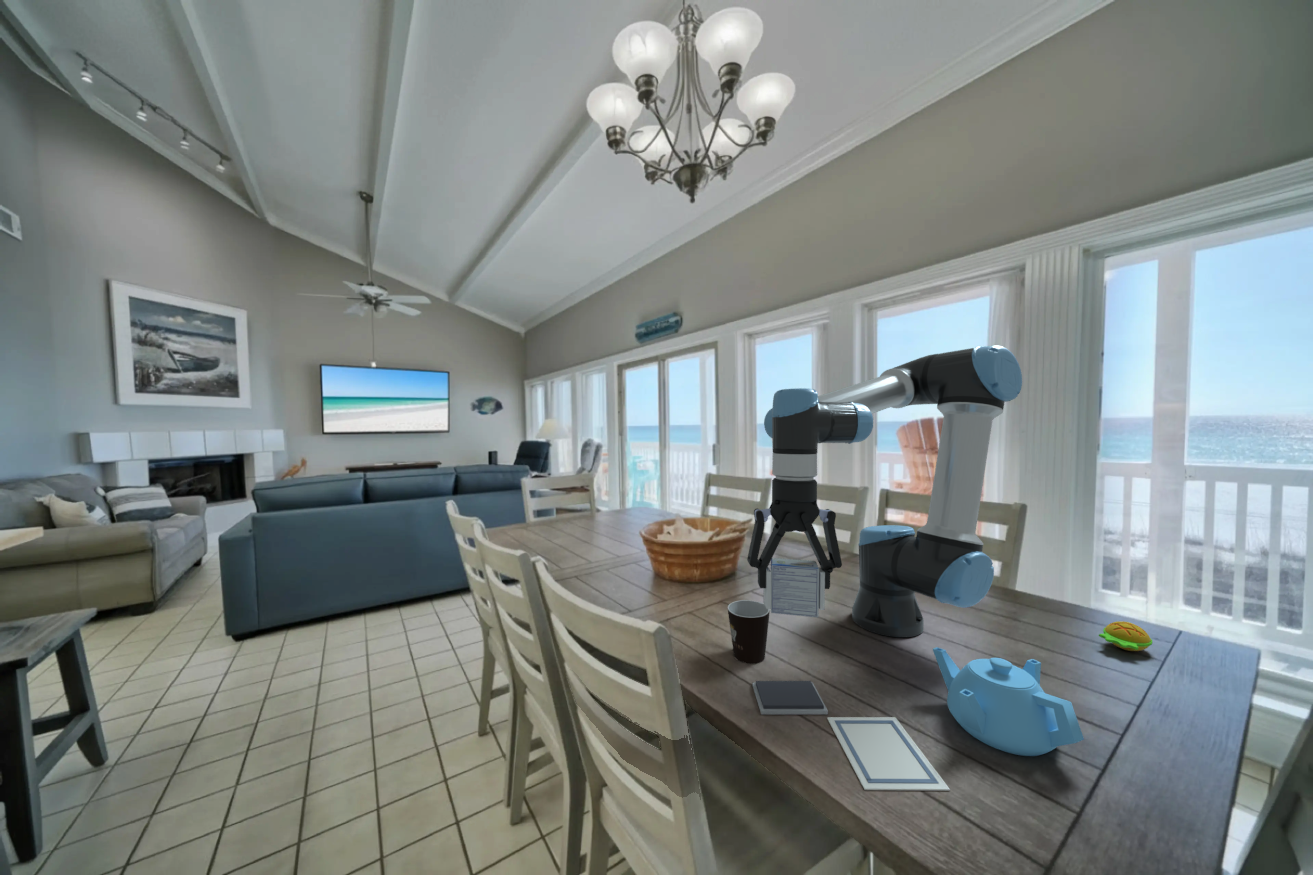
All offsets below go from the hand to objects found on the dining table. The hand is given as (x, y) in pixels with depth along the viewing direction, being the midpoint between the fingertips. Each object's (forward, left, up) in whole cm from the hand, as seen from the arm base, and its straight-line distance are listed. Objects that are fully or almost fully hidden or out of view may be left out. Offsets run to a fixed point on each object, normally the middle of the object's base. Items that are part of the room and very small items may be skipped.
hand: (793, 606), depth 77 cm
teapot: (-30, +8, -17) cm, 35 cm away
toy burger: (-72, -15, -17) cm, 75 cm away
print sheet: (-9, +13, -16) cm, 23 cm away
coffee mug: (+5, -15, -17) cm, 23 cm away
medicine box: (0, 0, -1) cm, 1 cm away
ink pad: (+1, +1, -16) cm, 16 cm away
